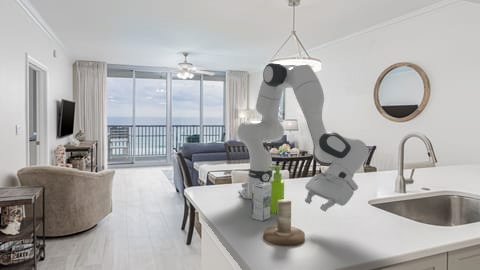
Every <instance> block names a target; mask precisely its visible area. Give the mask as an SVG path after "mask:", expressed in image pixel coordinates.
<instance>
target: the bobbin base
mask: <svg viewBox="0 0 480 270" xmlns="http://www.w3.org/2000/svg"><path fill="white" fill-rule="evenodd" d="M276 228H277V225H274V226H273V225H272V226H269V227H267V228H265V229H264V230H263V239H264V240H265V242H266V241H267V243H269V244H272V245H275V246H281V247H293V246H298V245H301V244H303V243H304V241H305V239H306V238H305V237H306V236H305V235H306V234H305V231H303V230H302V229H300V228H298V227H295V226H291V229H292V230H293V235H292V236H287V237H284V236H279V235H276V234H275V229H276Z"/></svg>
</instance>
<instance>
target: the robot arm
mask: <svg viewBox="0 0 480 270" xmlns="http://www.w3.org/2000/svg"><path fill="white" fill-rule="evenodd" d="M262 78H263V79H262V81H261V84H260V86H259V90H258V93H257V94H258V95H257V99H256V102H255V103H256V104H255V110H256V112H257V113H258V114H259V115H261V120H248V121H244V122H241V123H240V124H239V125H238V127H237V131H236V132H237V133H236V134H237V137H238V139H239V140H240V141H241V143H243V144H244V145H245V146H246V149H247V151H248V153H249V169H248V174H247V175H248V176H247V177H246V178H245V179H244V180H243V183H241V188H240V189H238V193H239V194H240V195H241V196H242V198H243V199H247V200H249V199H250V200H252V184H254V183H258V182H267V183H270V184H271V181H273V180H274V177H273V175H274V172H273V168H272V169H270V168H269V167H270V166H273V165H272V161H273V160H272V159H273V158H272V157H273V156H272V154H271V152H270V151H268V150H267V149H266V148H265V147H264V143H273V142H278V141H280V140H281V139H282V138H283V137H284V134H285V129H284V126H283V124H282V123H281V122H280V120H279V114H278V113H279V108H280V104H281V103H280V102H281V99H282V95H283V91H284V89H288V88H291V89H292V91H293V94H294V95H295V99H296V100H297V103H298V106H299V107H300V109H301V112H302V114H303V116H304V119H305V121H306V122H305V123H306V125H307V128H308V130H309V134H310V136H311V140H312V143H313V144H312V145H313V152H312V154H313V155H312V157H313V159H314V161H315V162H316V163H317V164H318V165H321V166H323V167H327V169H326V170H325V171H324V172H320V173H316V174H314V175H313V176H312V177H311V179H309V180H308V182H306V184H305V189H306V190H307V191H308V192H307V194H306V198H304V202H305V203H306V204H308V205H309V204H311V203H312V202H313V200H312V199H313V197H314V196H318V197H320V198H321V199H325V200H327V202H326V203H322V204H321V206H320V207H319V208H320V210H321V211H323V212H327V210H329V209H330V208H332V207H334V206H335V204H336V205H339V206H342V207H343V206H345V205H346V204H347V203H348V202H349V201H350V200H351V198H353V195H354V194H355V192H356V191H357V190H358V189H359V186H358V184H357V183H356V181H354V179H353V178H354V176H355V174H356V173H357V172H358V171H359V170H360V169H361V168H362V166H363V165H364V164H365V162H366V161H367V159H368V156H369V153H370V152H369V147H368V146H367V144H366V143H365V142H363V141H362V140H360V139H359V138H350V137H349V138H348V137H346V136H342V135H341V134H339V133H338V132H334V131H328V132H327V130H326V128H325V125H324V121H323V108H324V102H325V96H324V95H325V94H324V89H323V87H322V84H321V82H320V80H319V77H318V75H317V74H316V73H315V71H314V70H313V68H312V67H311V66H310V65H309V63H293V62H278V61H274V62H270V63H269V62H268V63H267V64H266V65H265V67H264V69H263V72H262Z"/></svg>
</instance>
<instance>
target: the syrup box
mask: <svg viewBox="0 0 480 270" xmlns="http://www.w3.org/2000/svg"><path fill="white" fill-rule="evenodd" d="M271 213H272V212H271V184H270V183H267V182H258V183H254V184H252V199H251V219H252V220H256V221H260V222H265V221H266V220H268V219H269V220H270V219H271V216H272V215H271Z"/></svg>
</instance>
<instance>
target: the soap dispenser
mask: <svg viewBox="0 0 480 270" xmlns="http://www.w3.org/2000/svg"><path fill="white" fill-rule="evenodd" d="M269 168H270V169H272V170H273V169H275V172H273V179H274V180H273V181H271V213H273V214H277V211H278V200H282V199H284V200H285V181H284V180H282V173H281V172H280V170H281V169H280V168H282V166H281V165H272V166H270V167H269Z"/></svg>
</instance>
